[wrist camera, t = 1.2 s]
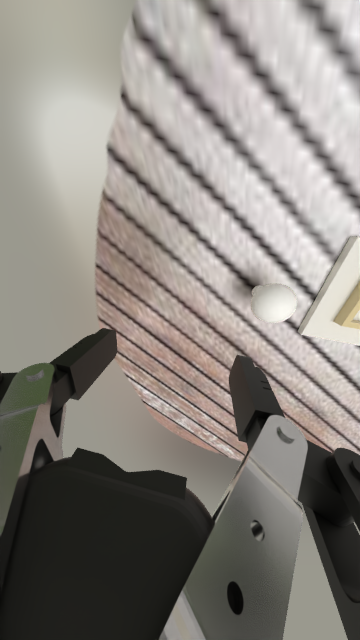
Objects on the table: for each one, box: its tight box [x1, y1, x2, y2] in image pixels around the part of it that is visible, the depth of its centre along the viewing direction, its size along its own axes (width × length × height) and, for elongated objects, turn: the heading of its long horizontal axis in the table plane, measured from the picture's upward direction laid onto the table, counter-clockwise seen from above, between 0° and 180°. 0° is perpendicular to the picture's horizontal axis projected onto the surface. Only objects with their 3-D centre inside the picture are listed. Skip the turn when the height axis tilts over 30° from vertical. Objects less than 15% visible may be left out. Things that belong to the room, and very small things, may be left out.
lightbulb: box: [251, 283, 297, 323], centre depth 26 cm, size 6×6×11 cm
